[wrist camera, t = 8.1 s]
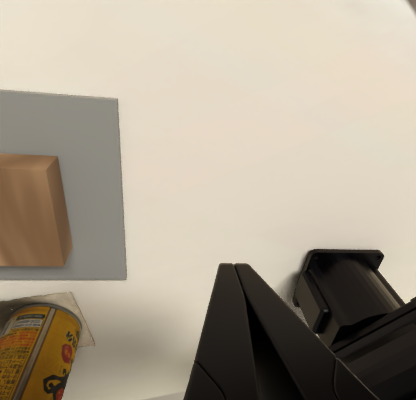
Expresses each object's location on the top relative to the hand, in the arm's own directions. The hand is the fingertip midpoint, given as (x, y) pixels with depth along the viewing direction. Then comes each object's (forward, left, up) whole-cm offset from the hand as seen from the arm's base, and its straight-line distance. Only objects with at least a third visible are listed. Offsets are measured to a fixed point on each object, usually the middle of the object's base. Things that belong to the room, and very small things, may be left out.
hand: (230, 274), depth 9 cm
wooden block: (+9, +5, -10) cm, 14 cm away
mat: (+11, +5, -12) cm, 17 cm away
